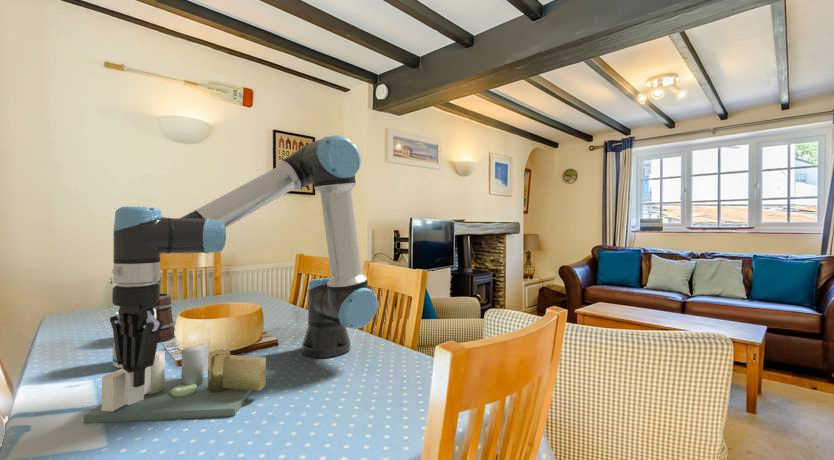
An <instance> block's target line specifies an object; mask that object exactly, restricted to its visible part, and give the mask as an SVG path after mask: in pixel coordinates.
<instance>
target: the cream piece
mask: <svg viewBox="0 0 834 460" xmlns="http://www.w3.org/2000/svg"><path fill="white" fill-rule="evenodd" d="M165 370H166V352H165V351H161V350H160V351H159V350H156V353H155V359H154V364H153V366H150V367H147V368H146V369H145V383H144V395H145V394H153V393H157V392H160V391H162V390H163V389H164V388H165V379H166V378H165V376H166V375H165V374H166V373H165V372H166V371H165ZM101 404H102V411H114V410H116V409H118V408H120V407H122V406H124V405H126V404H125V370H124V369H123V368H119V369H118V370H116V371H113V372H111V373H108V374H106V375H103V376H102V377H101Z"/></svg>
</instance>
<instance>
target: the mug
mask: <svg viewBox="0 0 834 460" xmlns="http://www.w3.org/2000/svg"><path fill="white" fill-rule="evenodd" d="M172 307H174V302H172V299H171V296H170V294H168V293H160V298H159V301H157V302H155V303H154V304H153V308H154V309H156V320H157V321H158V320H162V321H163V326H162V328H161V330H160V332H159V338H158V343H159V344H160V343H162V342H167V341H170V340H172V339H174V338H175V337H174V330H175V331H176V328H175V325H176V321H175V320H174V319H173V311H172ZM158 343H157V344H158Z"/></svg>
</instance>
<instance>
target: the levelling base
mask: <svg viewBox="0 0 834 460" xmlns="http://www.w3.org/2000/svg"><path fill="white" fill-rule="evenodd" d="M209 353H210V344H198V345H195V346H189V347H185V348H183V349H181V373H180V374H181V377H179V378H177V377H176V378H165V388H164V389H163V390H162V391H160V392H157V393H153V394H145V395H144V400H141V401H139V402H136V403H133V404H131V405H127V404H126V405H124V406H122V407H120V408H118V409H116V410H114V411H102V403H100V404H99V405H97V406H96V407H95V408H93V409H91V410H90V411H88V412H87V413H85V414H83V424H89V423H90V424H92V423H93V424H95V423H113V422H116V423H117V422H133V421H154V420H155V421H157V420H174V419H175V420H176V419H188V418H189V419H195V418H215V417H216V418H217V417H234V416H236V415H237V414H238V412H239V411H240V410H241V408H242V407H243V405H244V404H245V403H246V401H247V400H248V399H249V397H250V395H251V394H252V392H254V390H246V389H233V388H227V389H225V390H222V391H217V392H211V391H208V376H205V375H206V374H208V354H209ZM204 376H205V377H204Z"/></svg>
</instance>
